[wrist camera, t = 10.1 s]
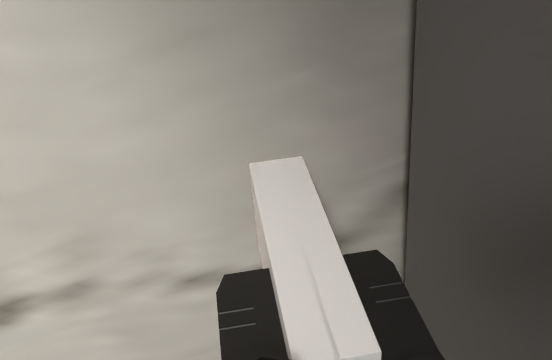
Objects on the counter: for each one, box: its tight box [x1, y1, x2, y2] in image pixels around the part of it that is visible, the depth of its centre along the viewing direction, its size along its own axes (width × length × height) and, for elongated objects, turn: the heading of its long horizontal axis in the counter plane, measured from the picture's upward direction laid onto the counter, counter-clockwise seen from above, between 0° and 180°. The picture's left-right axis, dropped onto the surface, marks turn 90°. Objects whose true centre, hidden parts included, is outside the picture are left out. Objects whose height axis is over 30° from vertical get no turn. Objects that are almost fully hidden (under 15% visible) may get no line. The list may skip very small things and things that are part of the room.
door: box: [405, 0, 552, 360], centre depth 12 cm, size 3×16×12 cm, turn 6°
